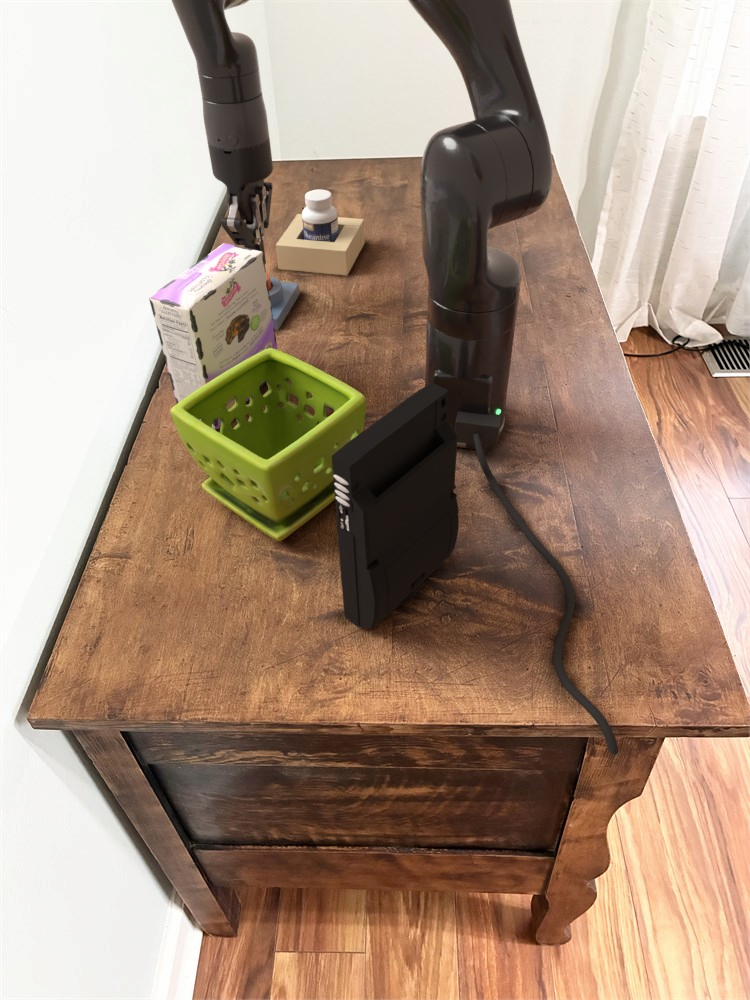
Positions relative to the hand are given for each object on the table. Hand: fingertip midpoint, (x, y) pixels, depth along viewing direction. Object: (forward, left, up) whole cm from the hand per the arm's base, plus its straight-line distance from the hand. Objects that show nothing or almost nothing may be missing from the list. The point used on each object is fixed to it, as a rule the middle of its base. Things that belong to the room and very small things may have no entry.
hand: (257, 266), depth 103 cm
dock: (+17, -4, -6) cm, 19 cm away
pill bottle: (+17, -4, -7) cm, 18 cm away
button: (0, 0, -3) cm, 3 cm away
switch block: (0, 0, -6) cm, 6 cm away
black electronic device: (-46, -30, -7) cm, 55 cm away
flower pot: (-36, -15, -7) cm, 40 cm away
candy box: (-20, -3, -7) cm, 21 cm away
